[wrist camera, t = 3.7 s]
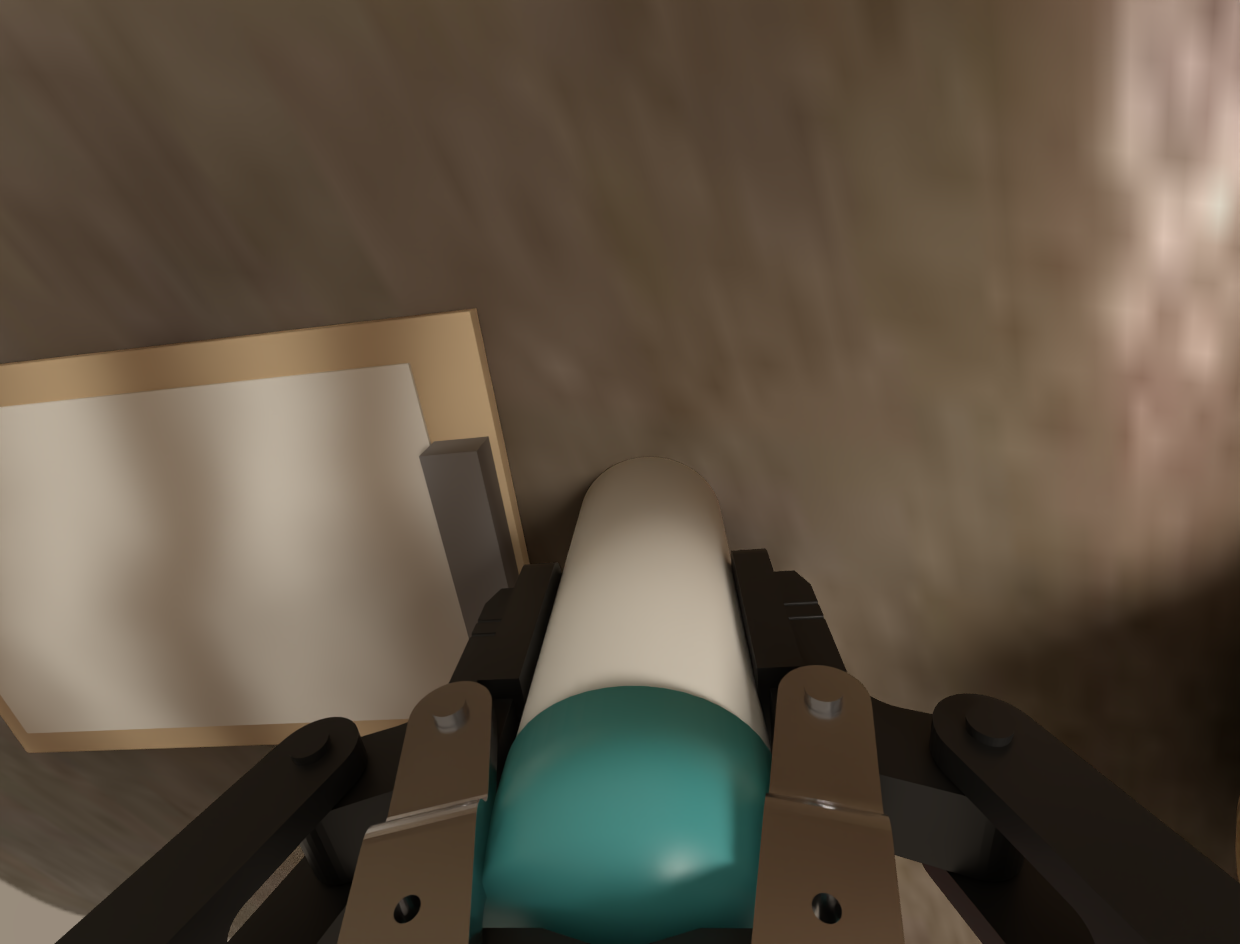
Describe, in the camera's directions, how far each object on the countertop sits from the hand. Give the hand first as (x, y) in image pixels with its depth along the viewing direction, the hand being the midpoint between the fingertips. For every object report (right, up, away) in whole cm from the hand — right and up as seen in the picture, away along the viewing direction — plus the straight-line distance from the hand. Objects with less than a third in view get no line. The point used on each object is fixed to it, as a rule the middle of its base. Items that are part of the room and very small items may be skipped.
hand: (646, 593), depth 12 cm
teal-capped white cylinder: (0, +1, +3) cm, 3 cm away
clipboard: (-13, 0, +5) cm, 13 cm away
